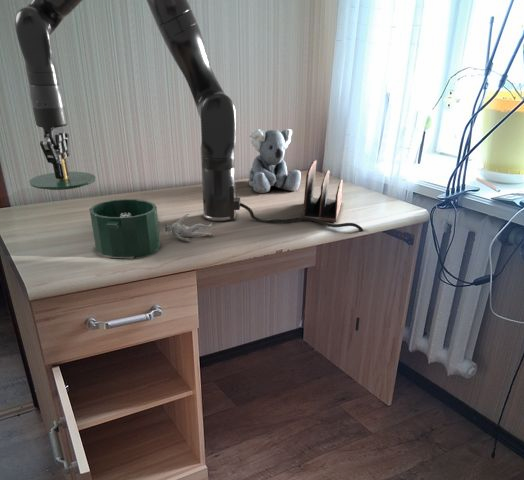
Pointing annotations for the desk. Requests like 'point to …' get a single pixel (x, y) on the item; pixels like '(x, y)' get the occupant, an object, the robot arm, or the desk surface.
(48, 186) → the lid
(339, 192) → the letter holder
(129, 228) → the pot
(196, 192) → the desk surface
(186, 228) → the soldier figure
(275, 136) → the koala plush
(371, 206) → the desk surface
